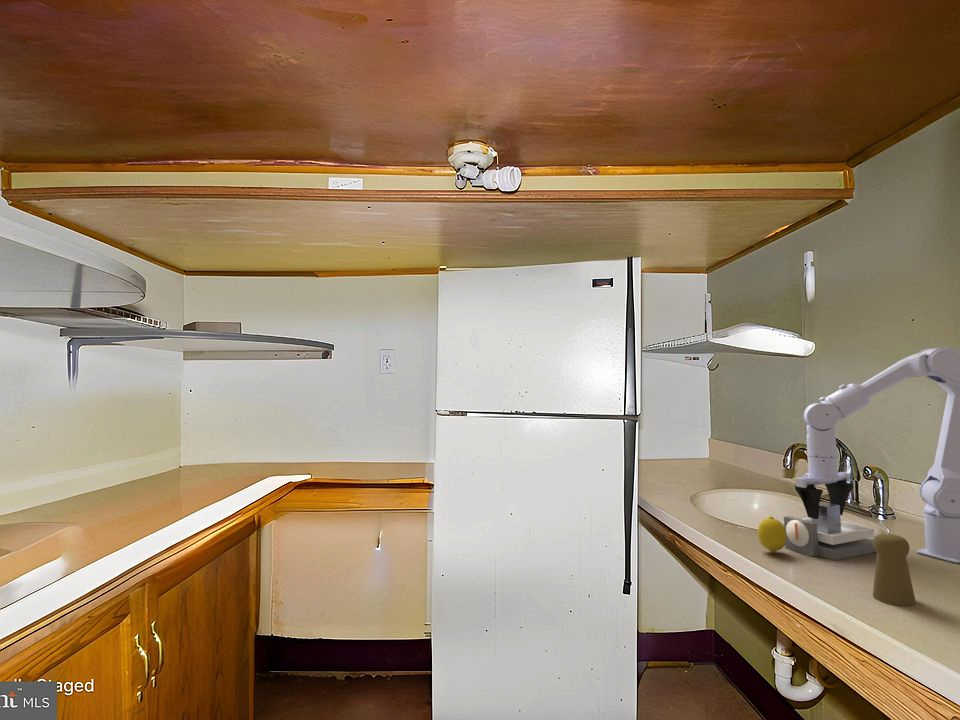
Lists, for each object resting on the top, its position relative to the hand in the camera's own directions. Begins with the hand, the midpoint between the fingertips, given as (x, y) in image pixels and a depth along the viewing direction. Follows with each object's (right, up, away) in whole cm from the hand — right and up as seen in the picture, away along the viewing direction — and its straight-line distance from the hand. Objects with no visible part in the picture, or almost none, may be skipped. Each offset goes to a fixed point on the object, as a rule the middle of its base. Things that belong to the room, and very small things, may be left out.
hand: (825, 516), depth 125 cm
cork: (-6, -6, -29) cm, 31 cm away
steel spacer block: (0, -3, 0) cm, 3 cm away
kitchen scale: (-1, -7, -1) cm, 7 cm away
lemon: (-14, -8, -3) cm, 16 cm away
